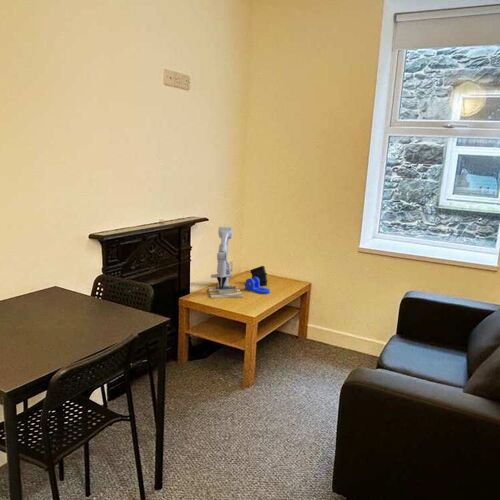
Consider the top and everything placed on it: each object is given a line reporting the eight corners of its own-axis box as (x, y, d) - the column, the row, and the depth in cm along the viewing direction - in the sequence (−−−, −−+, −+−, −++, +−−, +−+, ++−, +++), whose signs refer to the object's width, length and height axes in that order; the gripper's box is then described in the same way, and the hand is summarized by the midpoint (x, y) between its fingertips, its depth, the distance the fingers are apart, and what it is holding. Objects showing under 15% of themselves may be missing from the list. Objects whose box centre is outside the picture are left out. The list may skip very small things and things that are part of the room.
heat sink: (217, 289, 318) (217, 285, 317) (231, 289, 320) (231, 285, 319) (219, 294, 308) (219, 290, 308) (233, 293, 310) (233, 289, 310)
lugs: (212, 290, 316) (212, 285, 315) (235, 290, 319) (235, 285, 318) (213, 293, 310) (213, 288, 309) (236, 292, 313) (237, 288, 312)
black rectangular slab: (269, 285, 333) (262, 266, 333) (254, 289, 339) (247, 271, 338) (271, 283, 336) (264, 265, 336) (256, 288, 342) (249, 270, 342)
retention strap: (215, 288, 314) (215, 286, 314) (235, 288, 317) (235, 286, 317) (215, 289, 311) (215, 287, 310) (236, 289, 313) (236, 287, 313)
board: (208, 289, 322) (208, 287, 322) (238, 288, 326) (238, 287, 326) (211, 298, 303) (211, 296, 303) (242, 297, 307) (243, 296, 307)
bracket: (245, 289, 325) (245, 278, 323) (251, 287, 332) (252, 275, 330) (265, 295, 315) (266, 283, 313) (272, 292, 321) (272, 280, 319)
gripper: (211, 270, 305) (211, 289, 308) (232, 270, 307) (232, 289, 310) (210, 267, 311) (210, 286, 314) (231, 267, 314) (230, 286, 317)
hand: (221, 287), depth 313 cm, fingers closed on retention strap
